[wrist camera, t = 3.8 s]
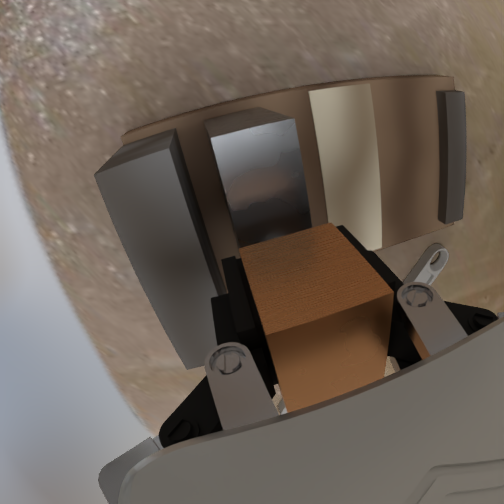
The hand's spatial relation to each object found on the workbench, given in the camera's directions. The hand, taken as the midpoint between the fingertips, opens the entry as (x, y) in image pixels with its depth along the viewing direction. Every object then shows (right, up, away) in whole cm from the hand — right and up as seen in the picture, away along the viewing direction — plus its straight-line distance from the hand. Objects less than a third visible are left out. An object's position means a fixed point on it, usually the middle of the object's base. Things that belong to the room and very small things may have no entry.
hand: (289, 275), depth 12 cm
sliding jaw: (-1, +4, +6) cm, 7 cm away
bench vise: (+3, +6, +9) cm, 11 cm away
